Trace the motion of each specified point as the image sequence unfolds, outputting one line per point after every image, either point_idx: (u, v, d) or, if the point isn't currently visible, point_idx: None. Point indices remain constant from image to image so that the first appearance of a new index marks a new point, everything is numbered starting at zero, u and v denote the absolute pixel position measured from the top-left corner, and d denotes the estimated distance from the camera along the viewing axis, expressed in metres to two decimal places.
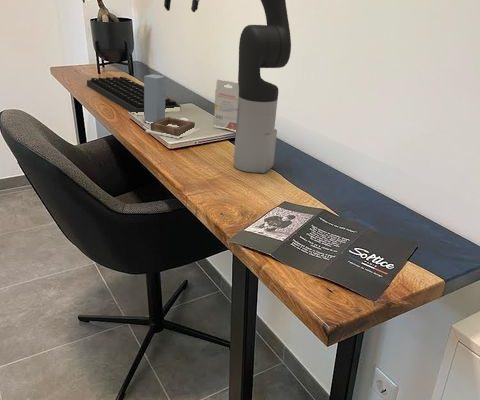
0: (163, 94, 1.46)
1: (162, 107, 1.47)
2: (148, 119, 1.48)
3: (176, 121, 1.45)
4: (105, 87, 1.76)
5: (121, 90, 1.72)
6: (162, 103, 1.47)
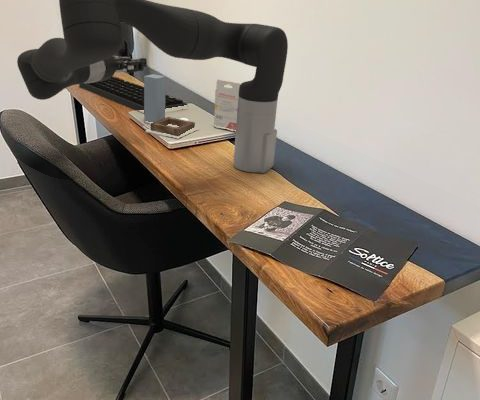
0: (163, 94, 1.46)
1: (162, 107, 1.47)
2: (148, 119, 1.48)
3: (176, 121, 1.45)
4: (104, 88, 1.75)
5: (122, 90, 1.72)
6: (162, 103, 1.47)
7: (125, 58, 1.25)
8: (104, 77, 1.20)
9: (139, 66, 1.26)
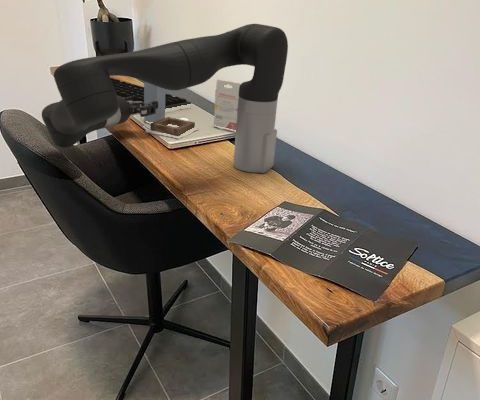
0: (163, 94, 1.46)
1: (162, 107, 1.47)
2: (148, 119, 1.48)
3: (176, 121, 1.45)
4: None
5: (123, 90, 1.71)
6: (162, 103, 1.47)
7: (139, 103, 1.34)
8: (120, 122, 1.30)
9: (151, 110, 1.35)
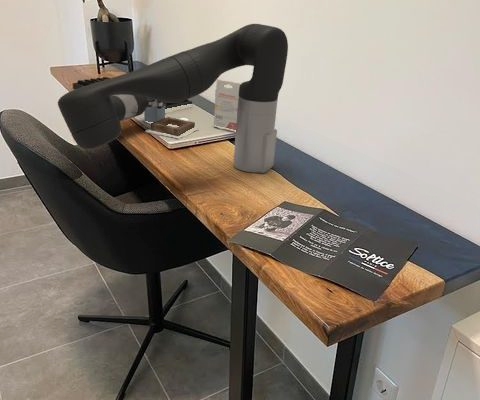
0: None
1: None
2: (148, 119, 1.48)
3: (176, 121, 1.45)
4: None
5: None
6: None
7: None
8: (136, 114, 1.35)
9: None
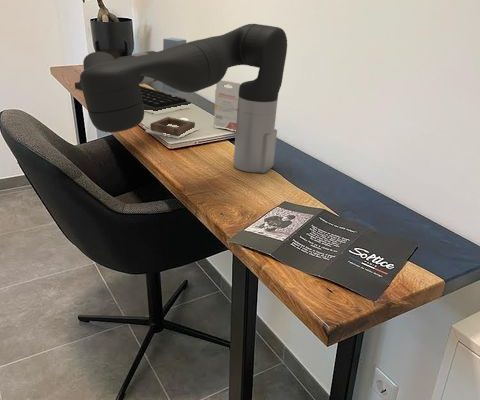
0: None
1: None
2: (167, 86, 1.36)
3: (176, 121, 1.45)
4: None
5: None
6: None
7: None
8: (156, 78, 1.24)
9: None
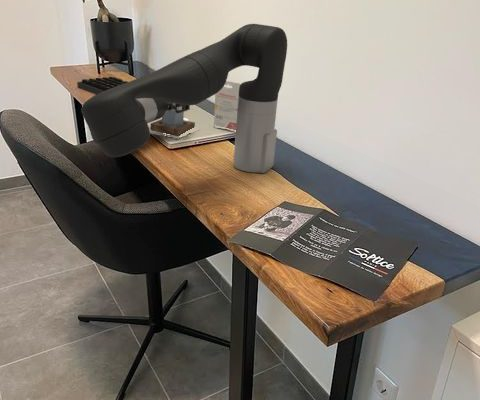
0: None
1: (180, 113, 1.41)
2: None
3: None
4: (103, 88, 1.74)
5: None
6: None
7: None
8: (155, 118, 1.28)
9: (186, 106, 1.34)
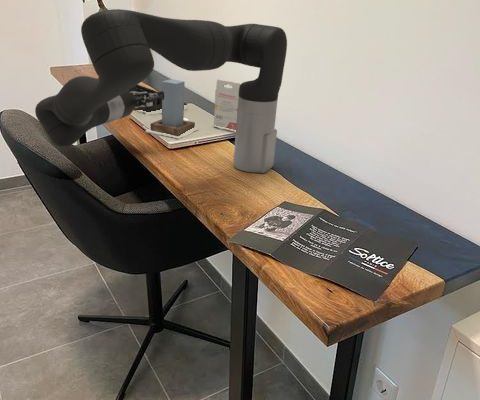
0: (182, 100, 1.40)
1: (180, 113, 1.41)
2: None
3: None
4: None
5: None
6: (181, 109, 1.40)
7: (143, 93, 1.21)
8: (123, 116, 1.16)
9: (157, 101, 1.22)
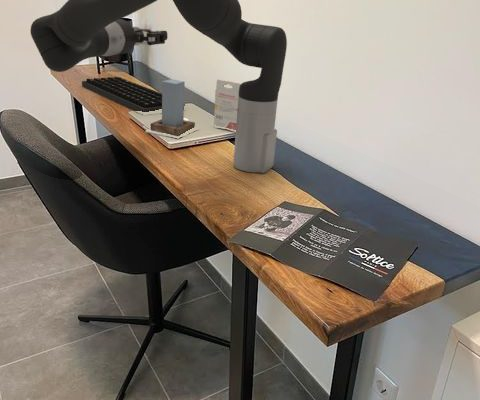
0: (182, 100, 1.40)
1: (180, 113, 1.41)
2: None
3: None
4: (104, 88, 1.75)
5: (122, 90, 1.72)
6: (181, 109, 1.40)
7: (145, 30, 1.15)
8: (123, 50, 1.10)
9: (160, 38, 1.16)
